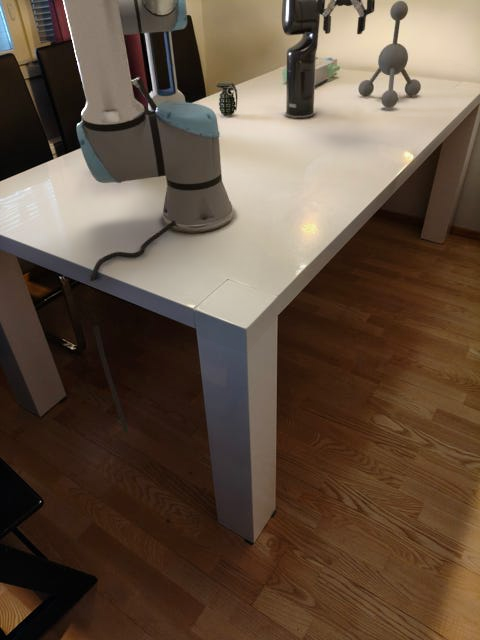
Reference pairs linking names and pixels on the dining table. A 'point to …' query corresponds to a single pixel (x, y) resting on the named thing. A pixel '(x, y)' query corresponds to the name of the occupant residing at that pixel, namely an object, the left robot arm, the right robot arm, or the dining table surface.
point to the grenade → (227, 99)
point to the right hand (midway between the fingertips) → (343, 33)
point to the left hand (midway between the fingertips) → (127, 147)
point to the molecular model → (392, 63)
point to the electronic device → (172, 92)
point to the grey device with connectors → (321, 69)
